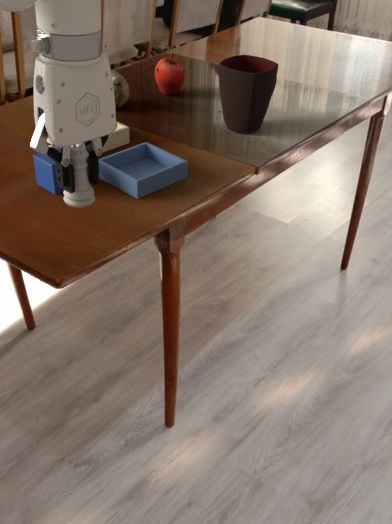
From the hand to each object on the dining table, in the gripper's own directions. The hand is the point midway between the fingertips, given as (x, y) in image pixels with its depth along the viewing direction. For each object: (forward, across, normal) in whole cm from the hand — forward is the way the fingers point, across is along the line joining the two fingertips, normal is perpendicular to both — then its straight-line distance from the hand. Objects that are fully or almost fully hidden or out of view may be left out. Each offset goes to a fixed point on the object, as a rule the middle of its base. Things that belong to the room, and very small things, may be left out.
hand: (78, 184), depth 87 cm
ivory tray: (+7, +20, +24) cm, 32 cm away
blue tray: (+7, +18, +7) cm, 20 cm away
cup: (+6, +49, +10) cm, 50 cm away
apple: (+6, +49, +33) cm, 59 cm away
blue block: (+7, +6, +14) cm, 17 cm away
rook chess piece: (+3, 0, 0) cm, 3 cm away
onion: (+7, +35, +35) cm, 50 cm away
